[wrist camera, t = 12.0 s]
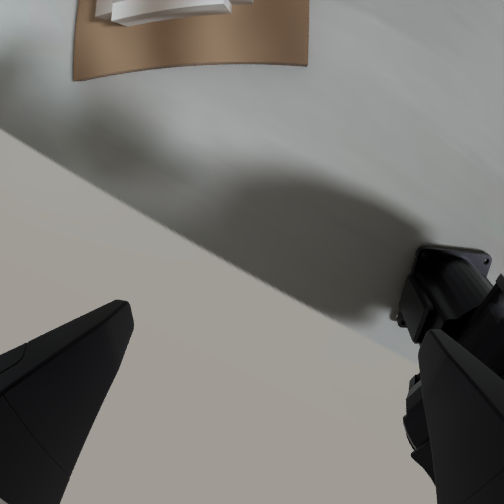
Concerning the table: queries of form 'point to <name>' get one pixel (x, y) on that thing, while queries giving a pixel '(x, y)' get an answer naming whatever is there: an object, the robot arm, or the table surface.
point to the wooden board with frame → (187, 34)
